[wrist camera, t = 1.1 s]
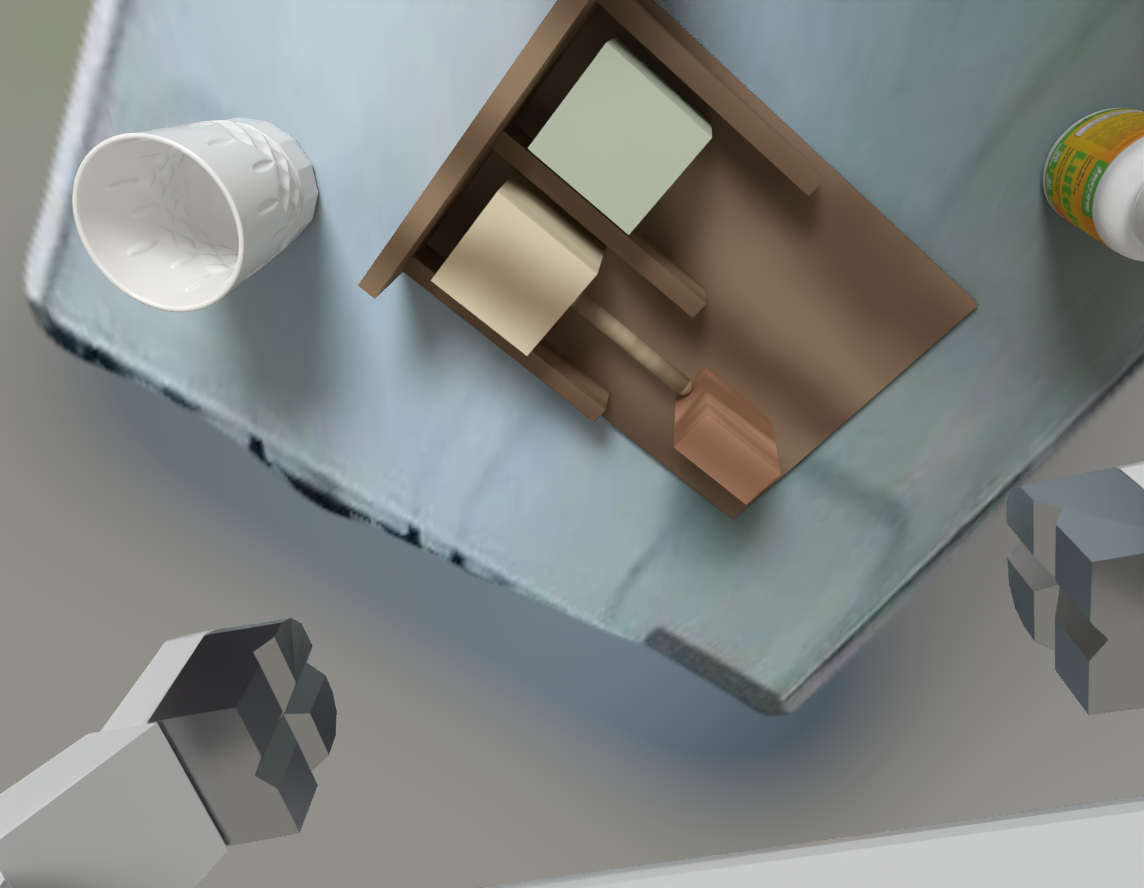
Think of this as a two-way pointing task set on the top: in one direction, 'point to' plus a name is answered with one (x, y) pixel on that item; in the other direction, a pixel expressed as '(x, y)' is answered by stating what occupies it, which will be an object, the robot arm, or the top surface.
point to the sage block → (622, 135)
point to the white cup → (192, 208)
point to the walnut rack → (695, 254)
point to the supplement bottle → (1101, 178)
